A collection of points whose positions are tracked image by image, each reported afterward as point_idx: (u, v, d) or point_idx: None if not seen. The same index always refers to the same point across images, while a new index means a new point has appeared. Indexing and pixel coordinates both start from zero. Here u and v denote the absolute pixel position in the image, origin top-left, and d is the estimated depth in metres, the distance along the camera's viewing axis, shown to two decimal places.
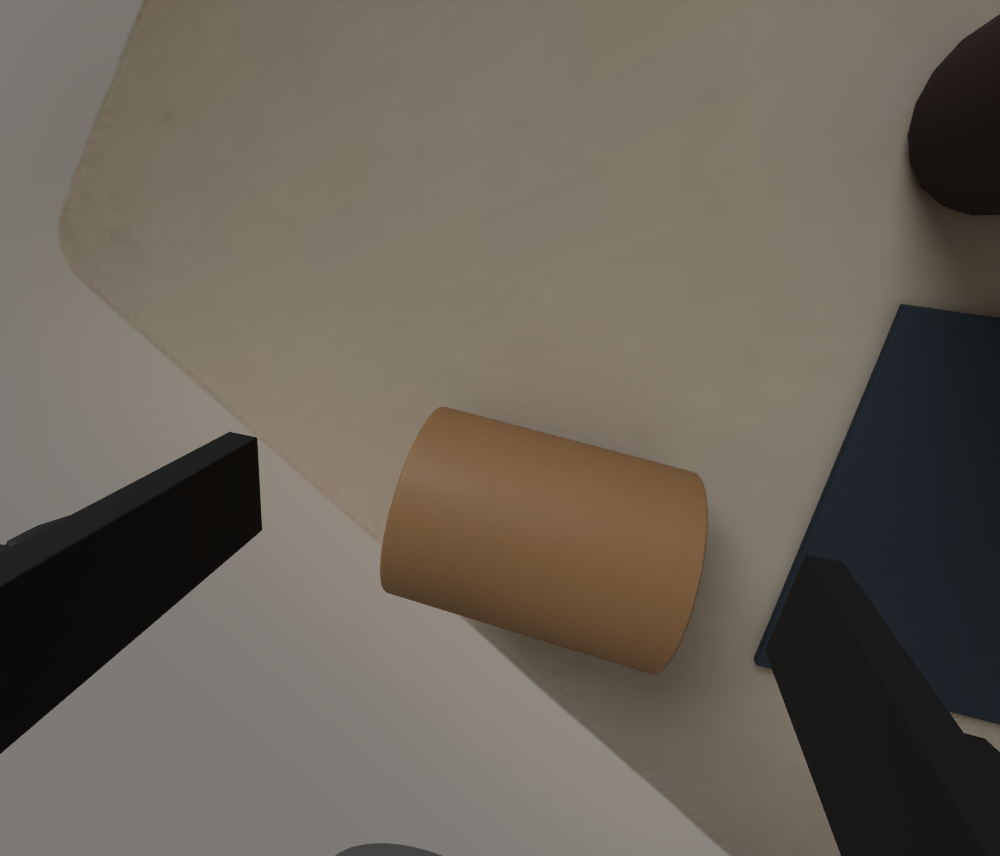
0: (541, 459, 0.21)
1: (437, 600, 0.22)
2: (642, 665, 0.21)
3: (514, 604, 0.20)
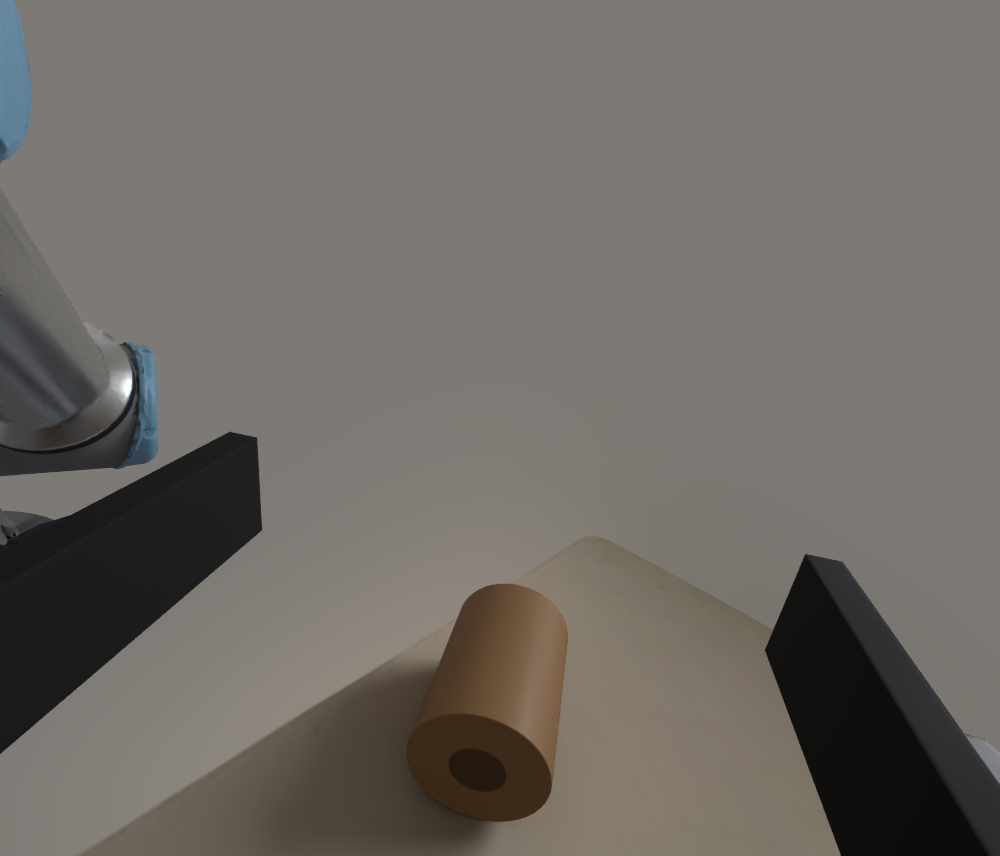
0: (559, 675, 0.36)
1: (481, 606, 0.39)
2: (444, 704, 0.31)
3: (490, 634, 0.35)
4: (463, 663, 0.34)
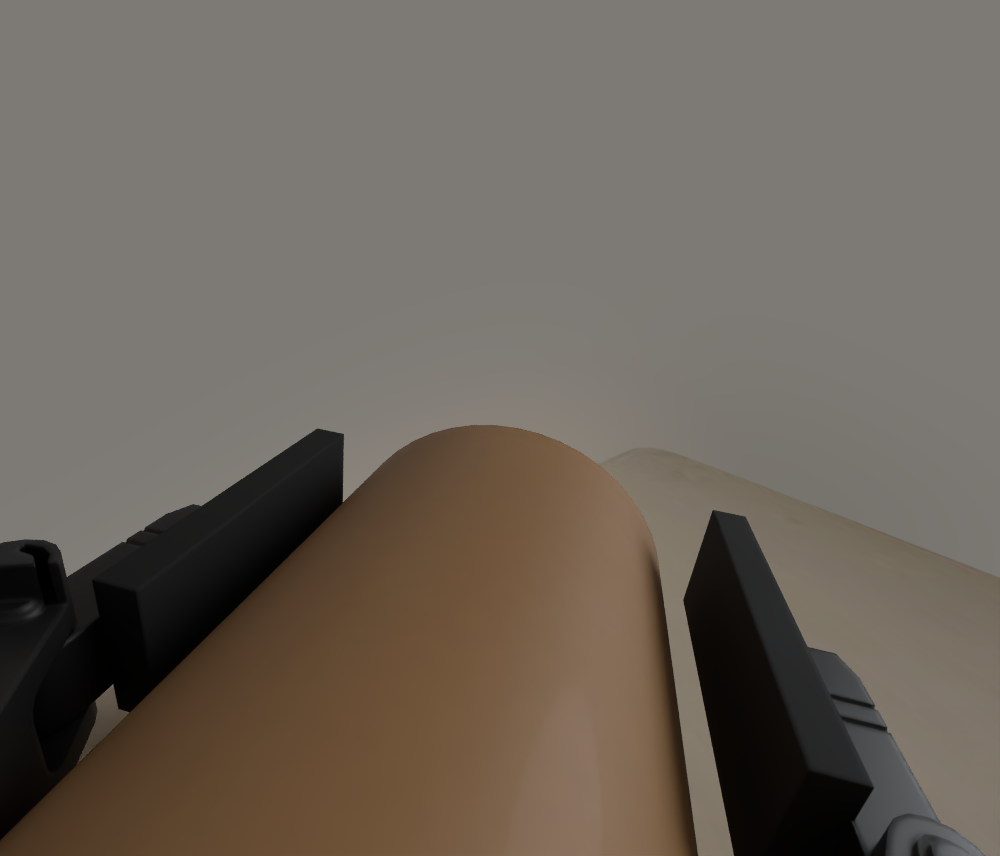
0: (676, 709, 0.09)
1: (383, 477, 0.12)
2: None
3: (381, 541, 0.08)
4: (211, 663, 0.06)
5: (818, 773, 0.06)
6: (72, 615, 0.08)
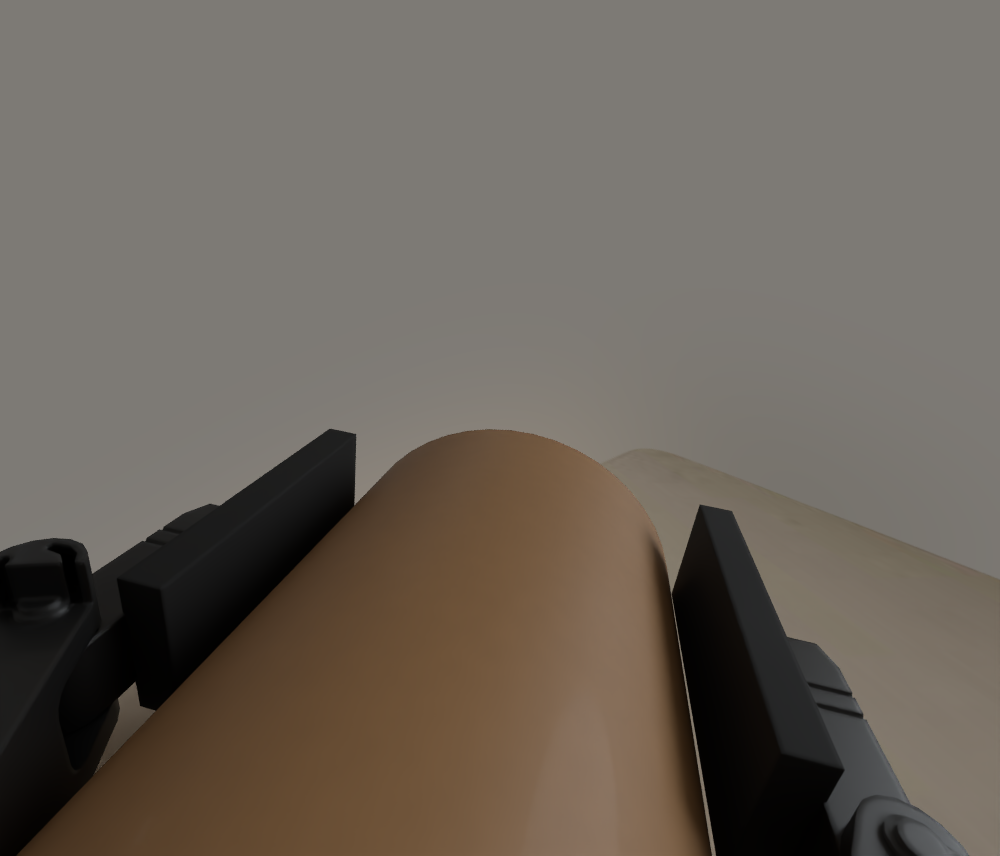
0: (690, 725, 0.09)
1: (401, 478, 0.12)
2: None
3: (407, 547, 0.08)
4: (241, 668, 0.06)
5: (791, 756, 0.07)
6: (97, 614, 0.08)
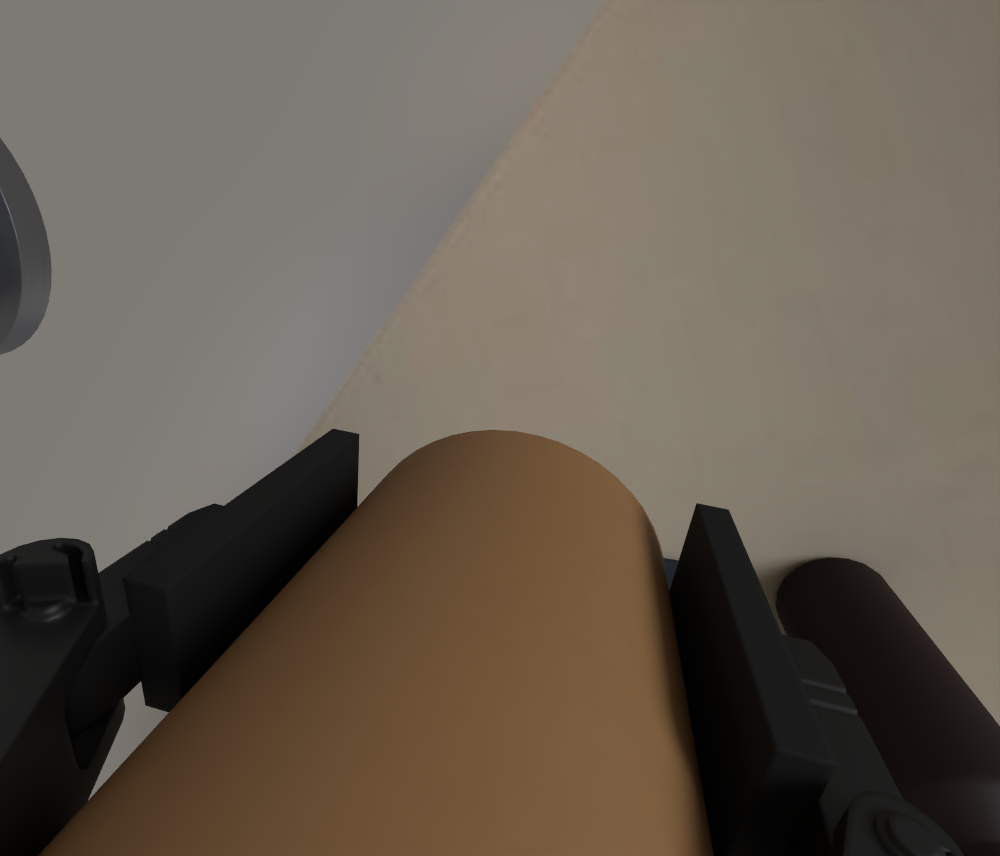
0: (689, 718, 0.09)
1: (408, 478, 0.12)
2: None
3: (420, 546, 0.09)
4: (266, 661, 0.07)
5: (784, 752, 0.07)
6: (103, 614, 0.08)
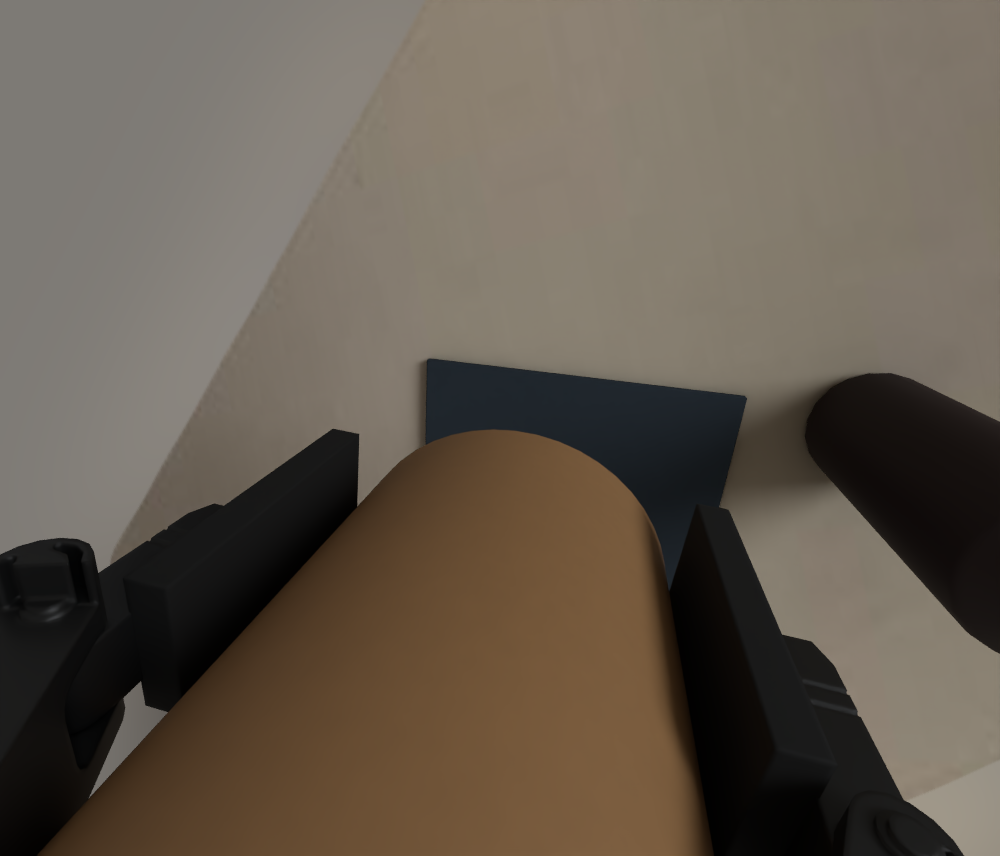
0: (690, 717, 0.09)
1: (409, 477, 0.12)
2: None
3: (420, 544, 0.09)
4: (266, 660, 0.07)
5: (783, 752, 0.07)
6: (103, 613, 0.08)
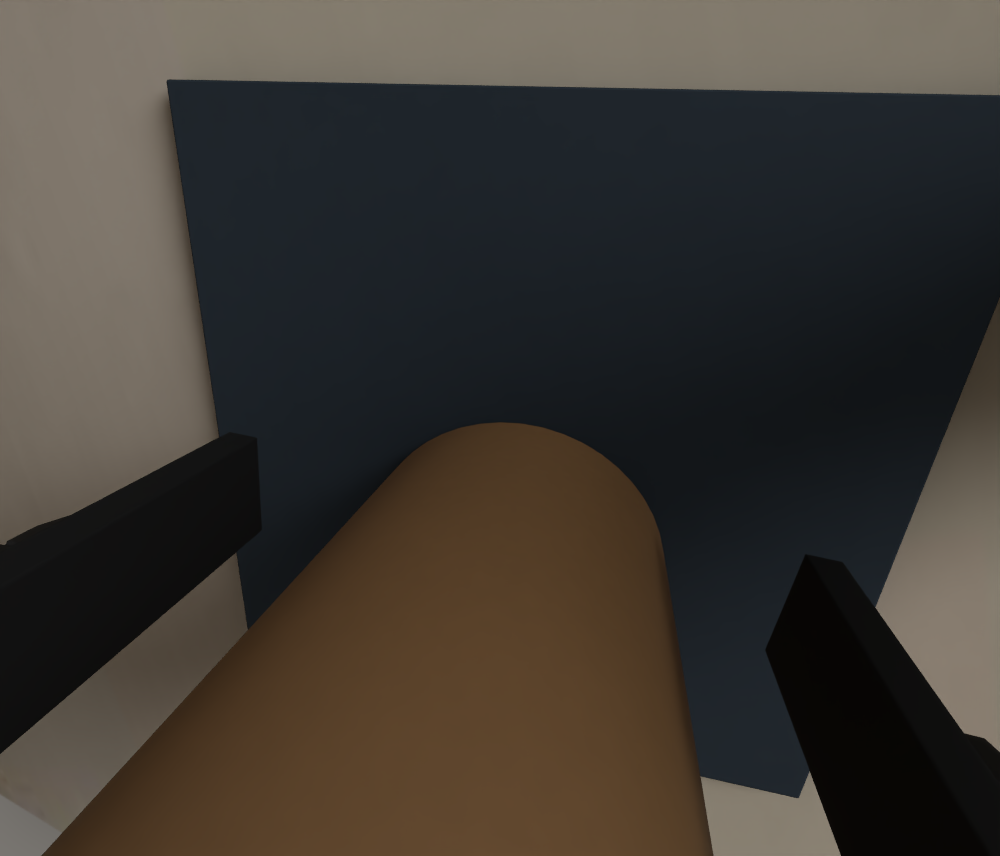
0: (685, 688, 0.10)
1: (421, 466, 0.13)
2: None
3: (436, 525, 0.09)
4: (299, 625, 0.07)
5: None
6: None
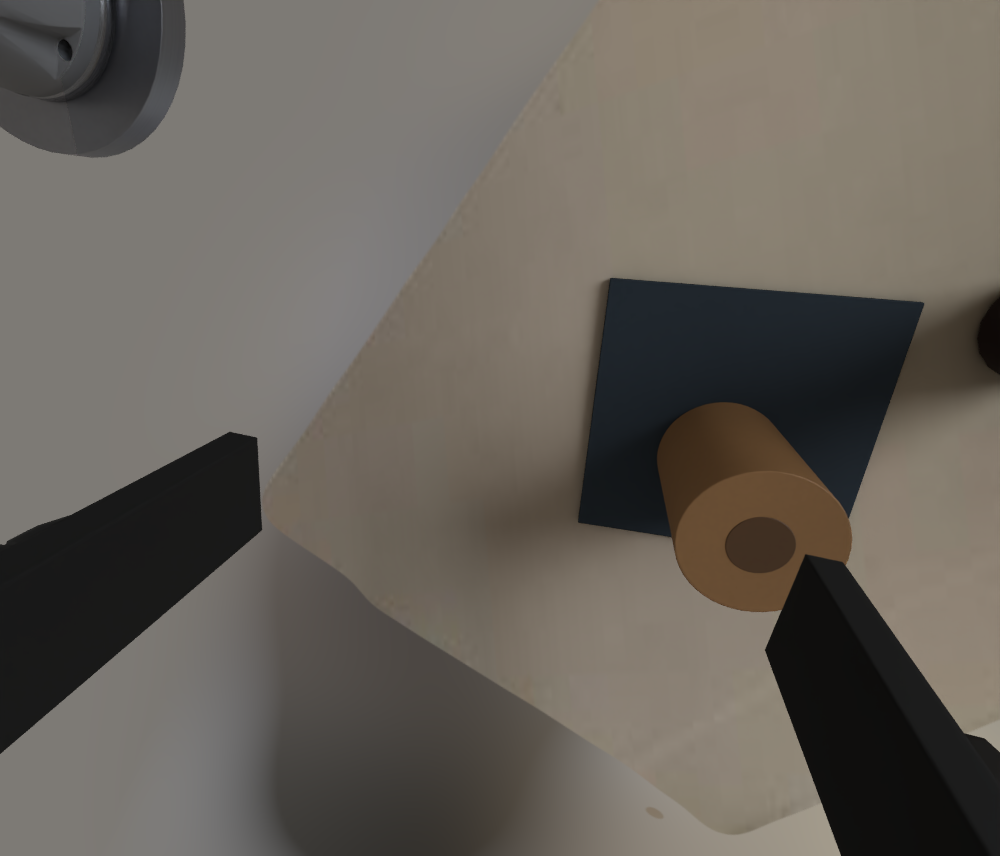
0: None
1: (706, 416, 0.36)
2: (730, 470, 0.28)
3: (739, 428, 0.33)
4: (725, 446, 0.31)
5: None
6: None
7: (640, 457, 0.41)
